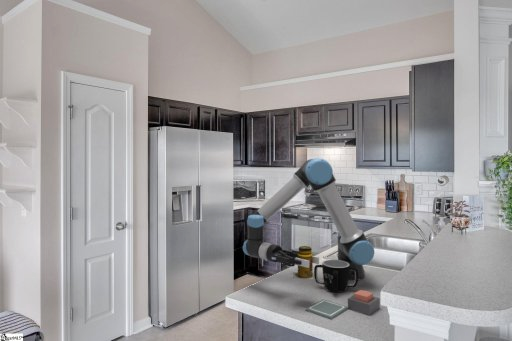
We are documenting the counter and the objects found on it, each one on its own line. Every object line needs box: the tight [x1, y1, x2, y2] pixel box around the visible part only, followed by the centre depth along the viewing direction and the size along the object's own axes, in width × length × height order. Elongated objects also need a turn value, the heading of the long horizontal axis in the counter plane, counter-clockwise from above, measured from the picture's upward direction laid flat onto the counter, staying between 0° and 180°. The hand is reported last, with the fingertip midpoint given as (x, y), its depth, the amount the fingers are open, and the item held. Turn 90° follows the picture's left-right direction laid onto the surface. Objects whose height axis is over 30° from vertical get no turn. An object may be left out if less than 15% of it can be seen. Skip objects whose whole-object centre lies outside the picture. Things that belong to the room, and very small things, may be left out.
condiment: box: [292, 245, 315, 280], centre depth 141 cm, size 7×8×12 cm
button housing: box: [347, 295, 381, 316], centre depth 136 cm, size 9×9×4 cm
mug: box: [313, 259, 359, 293], centre depth 157 cm, size 16×16×12 cm
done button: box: [353, 289, 374, 303], centre depth 136 cm, size 5×5×3 cm
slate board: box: [305, 299, 349, 320], centre depth 135 cm, size 13×12×1 cm
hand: (313, 262), depth 138 cm, fingers closed on condiment, 6 cm apart
